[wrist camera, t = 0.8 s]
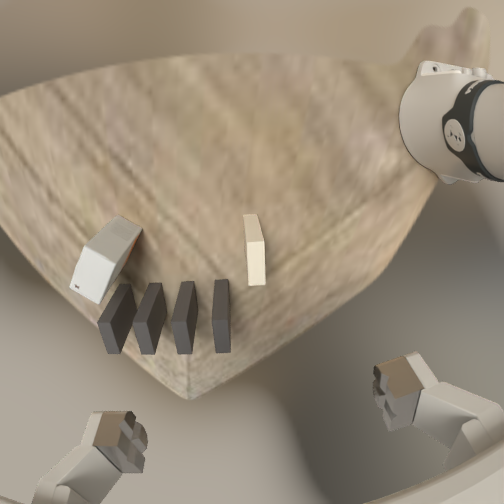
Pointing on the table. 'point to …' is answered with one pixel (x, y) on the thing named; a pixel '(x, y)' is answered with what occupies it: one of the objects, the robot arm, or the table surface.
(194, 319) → the domino
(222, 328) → the domino
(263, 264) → the domino
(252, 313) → the table surface
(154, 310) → the domino
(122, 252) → the skincare box
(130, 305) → the domino
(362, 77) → the table surface
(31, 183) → the table surface
